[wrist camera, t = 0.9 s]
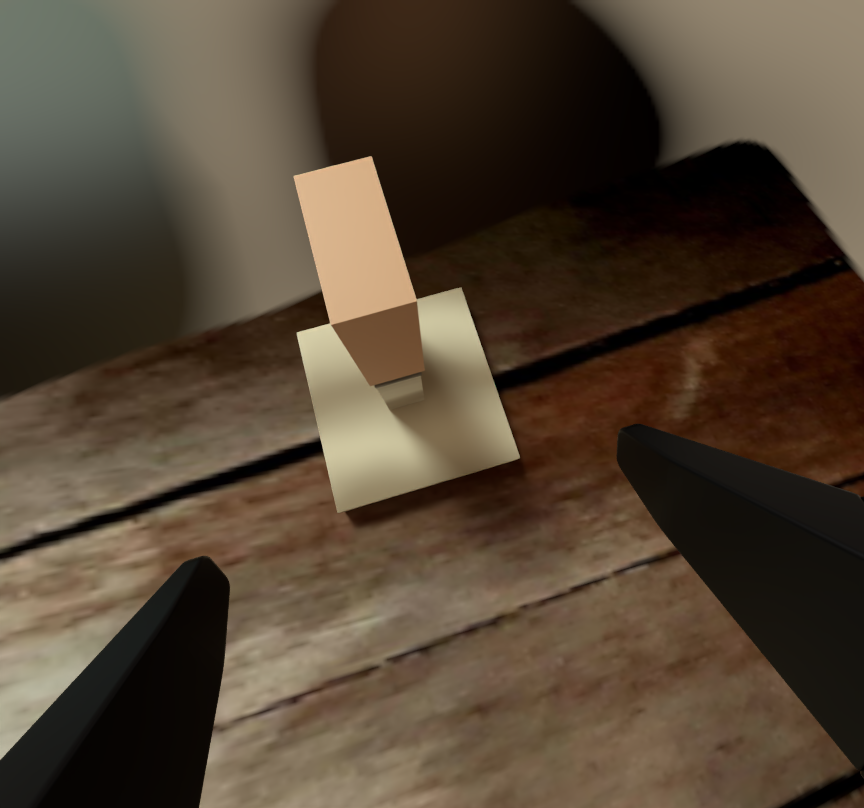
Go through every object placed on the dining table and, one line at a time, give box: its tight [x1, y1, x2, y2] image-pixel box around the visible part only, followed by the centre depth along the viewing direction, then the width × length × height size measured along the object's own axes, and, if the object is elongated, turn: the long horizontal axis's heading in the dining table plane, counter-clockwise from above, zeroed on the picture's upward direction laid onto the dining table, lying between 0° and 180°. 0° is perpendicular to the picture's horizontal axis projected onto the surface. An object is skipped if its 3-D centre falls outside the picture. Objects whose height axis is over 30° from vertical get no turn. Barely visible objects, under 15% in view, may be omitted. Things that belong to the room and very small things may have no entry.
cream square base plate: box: [297, 287, 520, 513], centre depth 20 cm, size 10×10×6 cm
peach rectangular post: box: [294, 156, 425, 386], centre depth 14 cm, size 5×2×6 cm, turn 16°
